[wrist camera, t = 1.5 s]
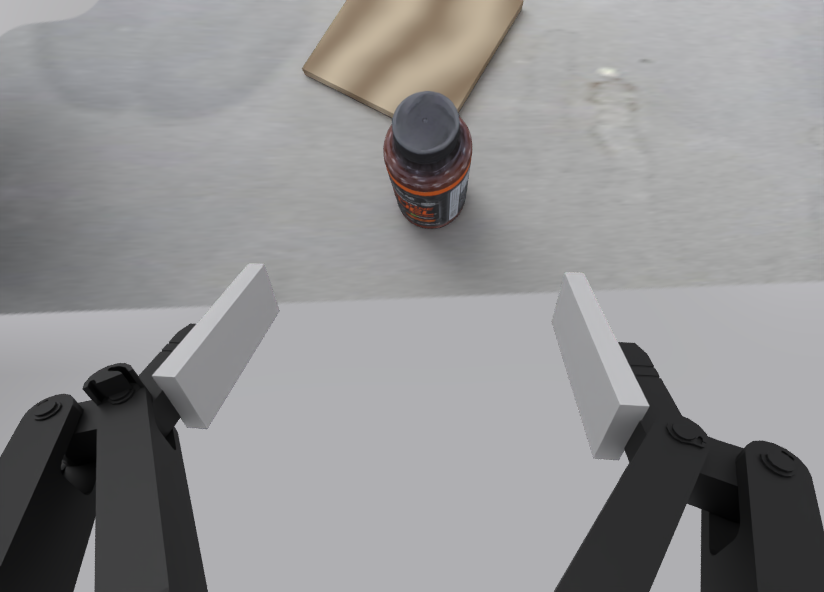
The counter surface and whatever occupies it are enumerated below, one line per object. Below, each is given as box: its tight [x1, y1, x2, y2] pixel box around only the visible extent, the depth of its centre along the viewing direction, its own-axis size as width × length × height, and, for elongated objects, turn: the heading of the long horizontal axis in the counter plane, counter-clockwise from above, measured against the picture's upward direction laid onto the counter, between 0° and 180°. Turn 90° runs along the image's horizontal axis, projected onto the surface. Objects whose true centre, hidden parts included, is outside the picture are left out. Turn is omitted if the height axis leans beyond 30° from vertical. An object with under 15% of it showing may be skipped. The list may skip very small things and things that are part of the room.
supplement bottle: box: [383, 91, 472, 228], centre depth 27 cm, size 6×6×11 cm
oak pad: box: [302, 0, 523, 118], centre depth 34 cm, size 15×15×1 cm
